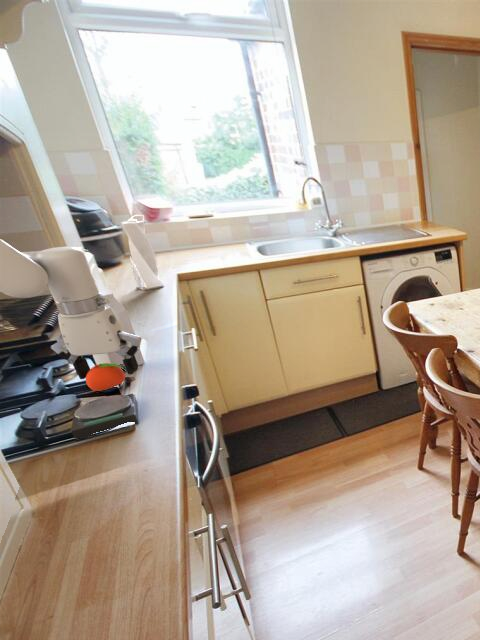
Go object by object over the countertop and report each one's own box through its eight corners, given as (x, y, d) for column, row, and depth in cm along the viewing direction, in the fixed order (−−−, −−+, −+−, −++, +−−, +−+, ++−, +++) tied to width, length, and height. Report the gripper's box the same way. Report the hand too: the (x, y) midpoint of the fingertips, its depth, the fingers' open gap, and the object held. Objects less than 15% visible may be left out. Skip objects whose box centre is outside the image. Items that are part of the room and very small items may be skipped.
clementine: (139, 381, 113) (129, 355, 111) (127, 395, 107) (117, 368, 105) (99, 386, 111) (89, 360, 108) (85, 400, 105) (74, 373, 102)
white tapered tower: (161, 282, 191) (139, 213, 180) (169, 286, 187) (147, 214, 176) (136, 287, 185) (112, 215, 174) (144, 291, 180) (120, 217, 169)
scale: (79, 417, 99) (73, 405, 98) (137, 402, 105) (133, 391, 104) (75, 441, 91) (70, 429, 90) (138, 424, 97) (134, 412, 96)
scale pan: (77, 407, 98) (75, 403, 98) (131, 393, 103) (130, 390, 103) (74, 426, 91) (72, 423, 91) (132, 411, 97) (131, 408, 96)
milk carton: (98, 370, 119) (70, 299, 112) (128, 358, 125) (103, 291, 118) (115, 375, 117) (88, 303, 109) (145, 363, 123) (121, 294, 115)
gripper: (134, 296, 106) (159, 363, 113) (46, 302, 103) (77, 370, 110) (116, 307, 99) (143, 377, 106) (21, 314, 96) (56, 386, 103)
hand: (110, 374), depth 108 cm, fingers open, 9 cm apart
